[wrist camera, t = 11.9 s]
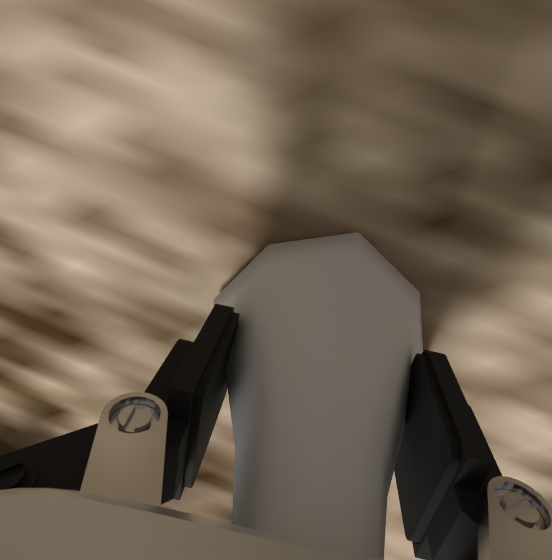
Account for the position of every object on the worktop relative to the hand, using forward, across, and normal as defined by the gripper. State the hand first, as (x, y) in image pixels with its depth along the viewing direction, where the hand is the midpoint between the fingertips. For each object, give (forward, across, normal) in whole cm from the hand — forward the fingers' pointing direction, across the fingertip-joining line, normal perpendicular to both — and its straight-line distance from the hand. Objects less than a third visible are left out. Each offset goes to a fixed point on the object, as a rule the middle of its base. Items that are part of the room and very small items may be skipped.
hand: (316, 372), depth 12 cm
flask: (+3, 0, 0) cm, 3 cm away
